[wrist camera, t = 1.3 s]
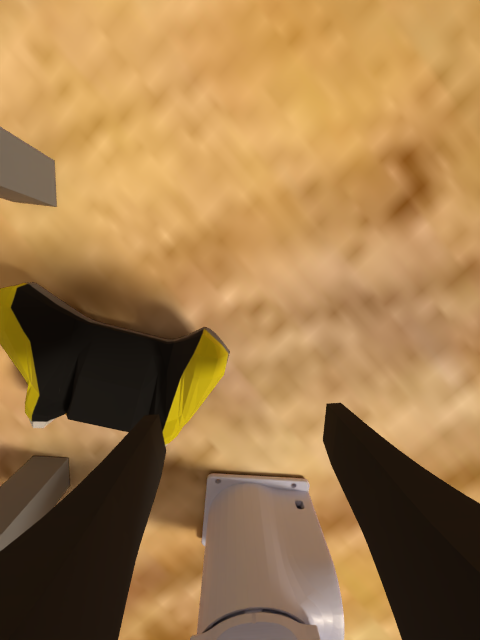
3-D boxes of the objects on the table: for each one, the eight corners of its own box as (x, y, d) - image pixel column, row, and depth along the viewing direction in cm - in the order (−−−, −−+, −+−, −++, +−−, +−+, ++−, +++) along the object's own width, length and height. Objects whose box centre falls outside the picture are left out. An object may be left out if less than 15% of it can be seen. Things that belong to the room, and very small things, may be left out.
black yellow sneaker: (45, 273, 18) (32, 389, 20) (-34, 274, 13) (-42, 433, 15) (234, 323, 19) (205, 428, 21) (236, 342, 14) (196, 481, 16)
